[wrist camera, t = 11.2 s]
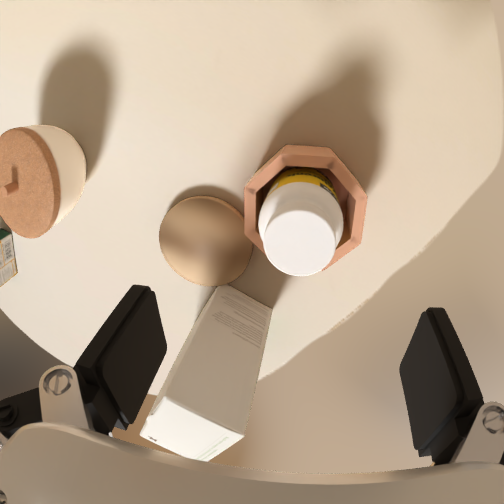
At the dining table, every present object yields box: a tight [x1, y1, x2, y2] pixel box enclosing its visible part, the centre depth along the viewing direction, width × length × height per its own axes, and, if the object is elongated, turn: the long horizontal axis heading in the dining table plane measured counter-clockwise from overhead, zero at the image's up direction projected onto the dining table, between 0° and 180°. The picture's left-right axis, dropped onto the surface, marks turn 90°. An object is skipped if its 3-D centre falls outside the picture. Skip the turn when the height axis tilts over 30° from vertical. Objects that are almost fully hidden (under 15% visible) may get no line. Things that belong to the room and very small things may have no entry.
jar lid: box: [159, 196, 253, 286], centre depth 29 cm, size 9×9×1 cm
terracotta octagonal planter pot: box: [244, 145, 367, 271], centre depth 24 cm, size 9×9×5 cm
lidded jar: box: [0, 125, 87, 238], centre depth 24 cm, size 11×11×9 cm
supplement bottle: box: [258, 166, 343, 276], centre depth 21 cm, size 5×5×10 cm
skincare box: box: [140, 284, 272, 462], centre depth 27 cm, size 8×7×16 cm
